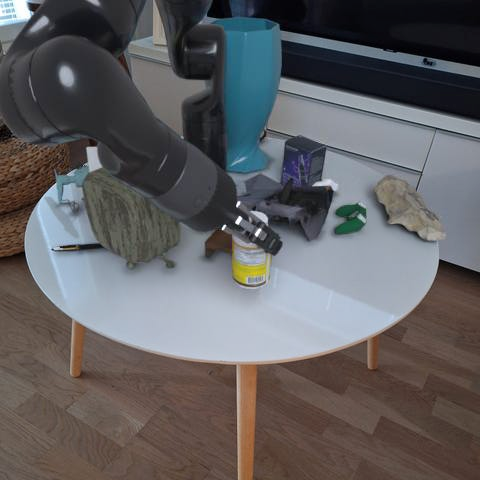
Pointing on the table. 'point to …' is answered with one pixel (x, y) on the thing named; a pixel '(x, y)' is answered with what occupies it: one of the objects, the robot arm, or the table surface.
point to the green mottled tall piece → (128, 221)
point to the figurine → (327, 184)
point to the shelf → (218, 243)
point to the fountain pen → (80, 247)
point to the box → (303, 161)
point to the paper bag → (306, 210)
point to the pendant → (72, 205)
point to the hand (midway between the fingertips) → (261, 238)
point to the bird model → (286, 194)
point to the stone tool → (408, 208)
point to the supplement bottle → (250, 261)
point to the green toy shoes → (351, 217)
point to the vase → (250, 87)
